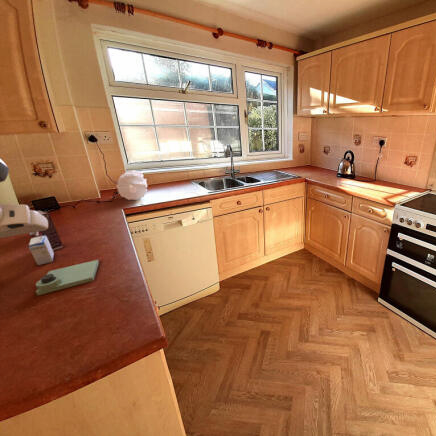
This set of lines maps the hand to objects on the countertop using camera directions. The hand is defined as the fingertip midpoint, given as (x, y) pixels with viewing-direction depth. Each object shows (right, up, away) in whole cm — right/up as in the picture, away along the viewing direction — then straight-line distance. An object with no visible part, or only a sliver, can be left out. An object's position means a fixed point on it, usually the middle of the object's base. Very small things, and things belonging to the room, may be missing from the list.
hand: (16, 237), depth 80 cm
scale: (+15, -14, +4) cm, 21 cm away
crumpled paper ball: (-21, +22, +95) cm, 99 cm away
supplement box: (-13, -6, +25) cm, 28 cm away
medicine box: (-6, -10, +16) cm, 19 cm away
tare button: (+13, -14, -2) cm, 19 cm away
